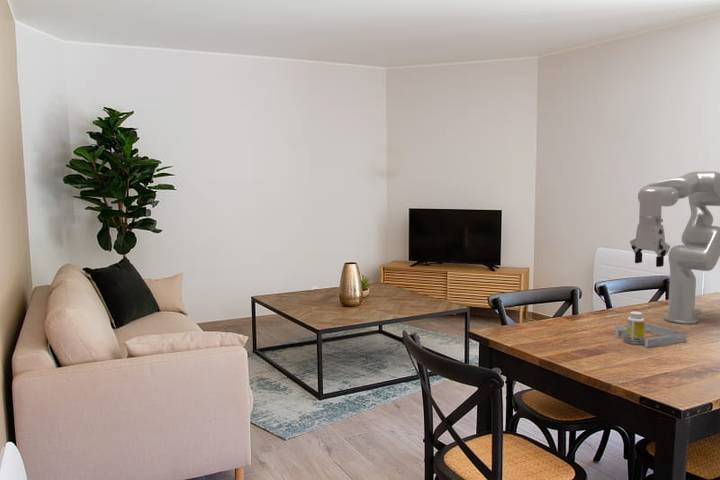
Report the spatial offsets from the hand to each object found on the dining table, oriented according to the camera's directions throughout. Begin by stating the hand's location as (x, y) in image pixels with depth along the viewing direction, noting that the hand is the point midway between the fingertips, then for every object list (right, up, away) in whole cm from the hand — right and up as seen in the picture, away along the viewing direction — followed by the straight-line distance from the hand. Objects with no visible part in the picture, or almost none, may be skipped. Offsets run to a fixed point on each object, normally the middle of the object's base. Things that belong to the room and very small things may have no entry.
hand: (648, 264), depth 224 cm
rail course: (-5, -27, -8) cm, 29 cm away
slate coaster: (-11, -28, -13) cm, 33 cm away
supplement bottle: (-11, -27, -13) cm, 32 cm away
